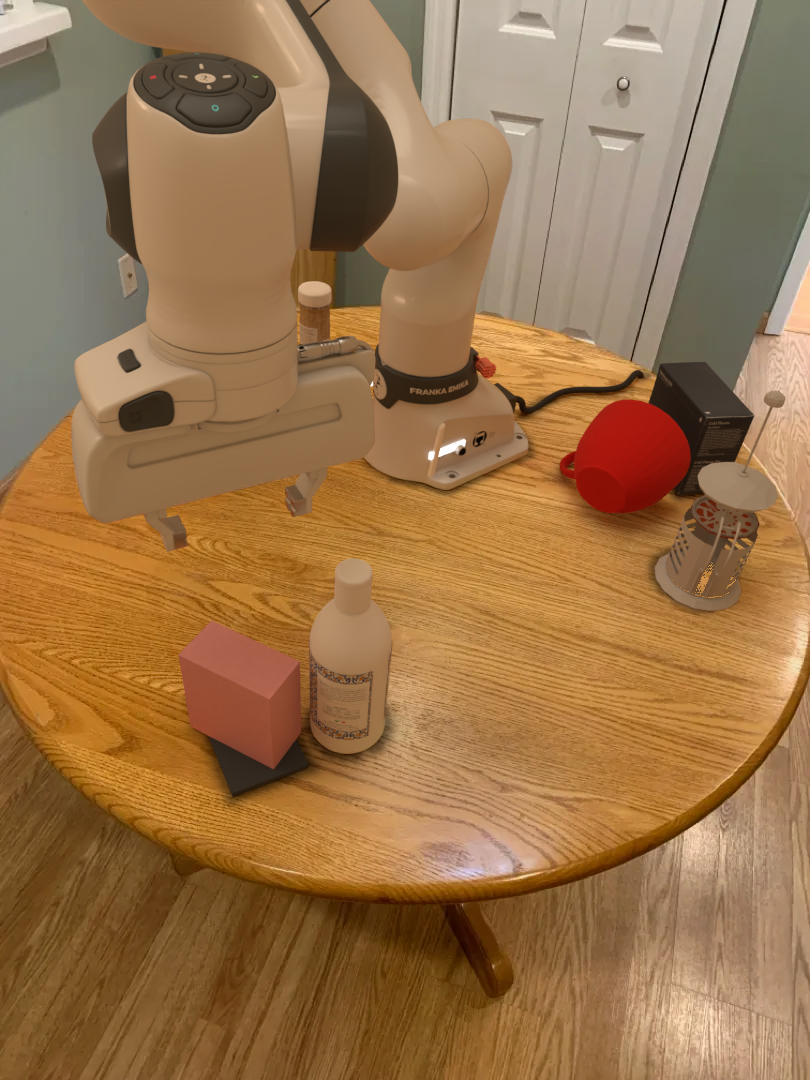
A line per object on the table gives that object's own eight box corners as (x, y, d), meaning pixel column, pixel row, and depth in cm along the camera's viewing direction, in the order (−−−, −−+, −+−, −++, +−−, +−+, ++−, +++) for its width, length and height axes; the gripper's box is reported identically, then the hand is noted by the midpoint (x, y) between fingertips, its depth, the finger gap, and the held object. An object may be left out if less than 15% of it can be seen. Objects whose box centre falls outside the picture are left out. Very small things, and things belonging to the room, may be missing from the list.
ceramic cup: (553, 533, 110) (593, 489, 115) (666, 535, 97) (706, 485, 101) (512, 450, 105) (556, 407, 110) (625, 440, 92) (669, 392, 96)
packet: (220, 692, 79) (211, 620, 73) (301, 732, 77) (300, 661, 70) (190, 726, 76) (178, 654, 70) (273, 769, 74) (269, 699, 67)
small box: (725, 493, 109) (757, 415, 101) (677, 497, 108) (706, 419, 100) (679, 434, 119) (706, 359, 111) (634, 437, 117) (658, 361, 109)
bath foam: (345, 682, 82) (351, 528, 69) (399, 723, 79) (417, 569, 66) (294, 726, 78) (289, 570, 65) (349, 770, 75) (356, 617, 61)
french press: (743, 564, 99) (830, 379, 82) (738, 632, 91) (834, 442, 74) (659, 541, 101) (727, 356, 84) (647, 606, 93) (720, 415, 76)
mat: (265, 677, 82) (265, 673, 81) (308, 767, 75) (308, 764, 74) (194, 701, 79) (193, 697, 79) (232, 797, 72) (232, 793, 72)
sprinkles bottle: (336, 377, 123) (337, 290, 114) (308, 384, 121) (308, 297, 112) (320, 362, 126) (321, 277, 117) (293, 369, 124) (291, 283, 115)
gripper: (355, 310, 58) (349, 468, 68) (45, 364, 50) (86, 536, 60) (398, 354, 54) (385, 516, 64) (68, 421, 46) (108, 595, 56)
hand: (238, 526), depth 62 cm, fingers open, 8 cm apart
